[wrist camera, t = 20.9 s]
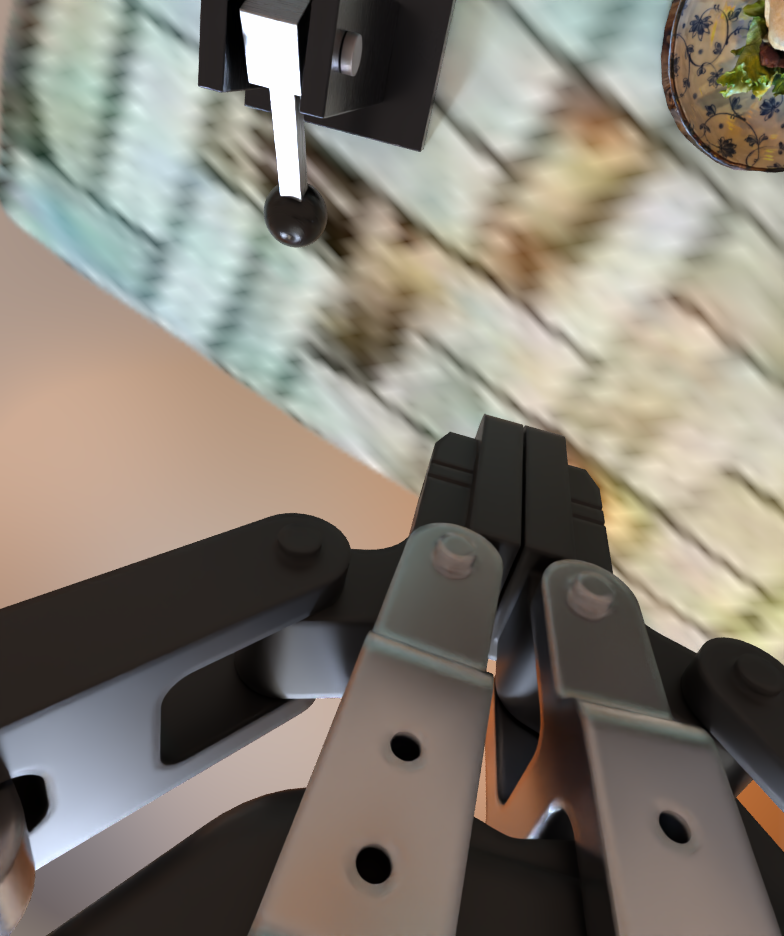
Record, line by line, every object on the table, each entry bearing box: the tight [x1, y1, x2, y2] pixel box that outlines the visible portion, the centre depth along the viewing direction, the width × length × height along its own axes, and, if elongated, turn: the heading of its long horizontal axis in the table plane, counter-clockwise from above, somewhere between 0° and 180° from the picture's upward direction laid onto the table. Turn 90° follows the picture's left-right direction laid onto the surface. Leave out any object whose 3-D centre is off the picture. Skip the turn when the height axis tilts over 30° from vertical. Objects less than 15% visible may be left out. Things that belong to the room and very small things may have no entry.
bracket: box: [198, 0, 456, 152], centre depth 28 cm, size 8×10×13 cm
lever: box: [239, 0, 327, 247], centre depth 29 cm, size 12×3×3 cm
